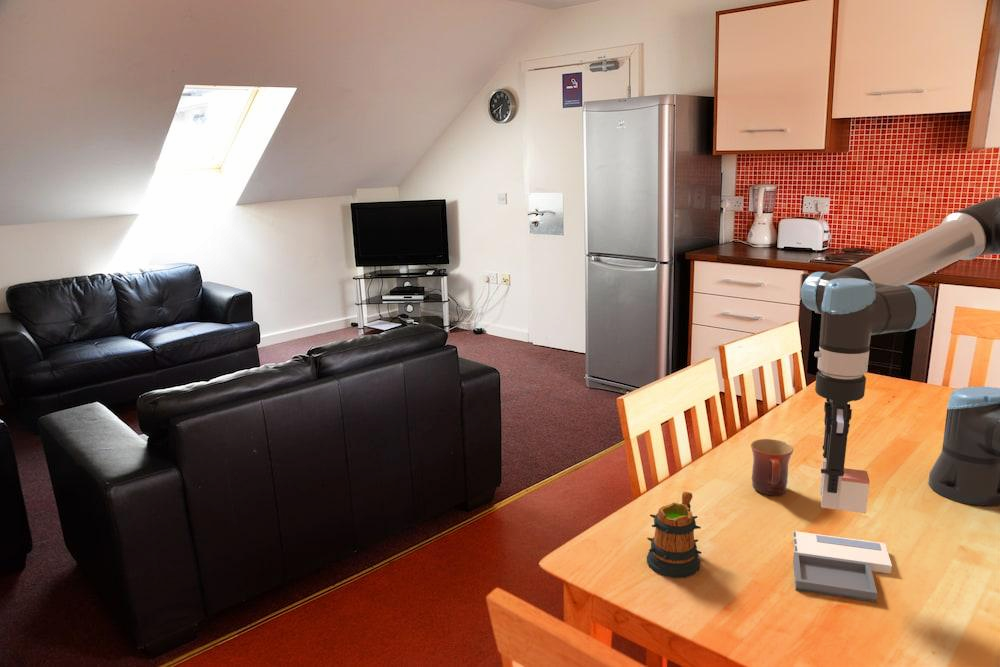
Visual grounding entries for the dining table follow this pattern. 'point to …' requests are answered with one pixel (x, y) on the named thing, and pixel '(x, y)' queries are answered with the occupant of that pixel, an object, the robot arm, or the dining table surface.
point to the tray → (834, 577)
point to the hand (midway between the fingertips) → (828, 500)
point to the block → (854, 491)
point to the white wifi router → (844, 549)
